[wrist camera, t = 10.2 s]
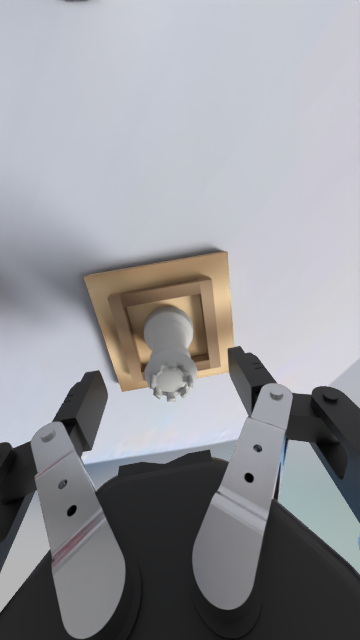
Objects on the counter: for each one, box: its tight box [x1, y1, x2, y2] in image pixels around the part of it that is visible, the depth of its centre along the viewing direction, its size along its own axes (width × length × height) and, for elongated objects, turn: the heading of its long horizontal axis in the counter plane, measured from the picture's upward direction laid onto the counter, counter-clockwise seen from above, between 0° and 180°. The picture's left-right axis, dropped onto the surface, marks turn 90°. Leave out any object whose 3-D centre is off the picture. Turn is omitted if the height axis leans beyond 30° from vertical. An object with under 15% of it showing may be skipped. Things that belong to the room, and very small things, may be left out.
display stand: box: [83, 251, 234, 392], centre depth 20 cm, size 12×12×2 cm
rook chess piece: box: [144, 307, 197, 401], centre depth 16 cm, size 4×4×8 cm
